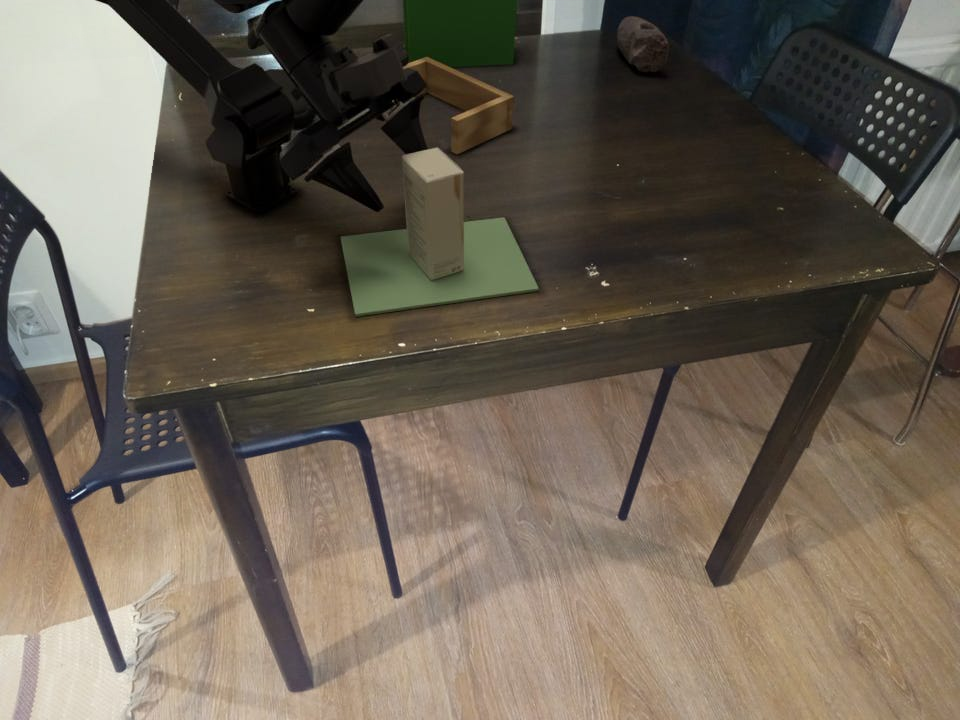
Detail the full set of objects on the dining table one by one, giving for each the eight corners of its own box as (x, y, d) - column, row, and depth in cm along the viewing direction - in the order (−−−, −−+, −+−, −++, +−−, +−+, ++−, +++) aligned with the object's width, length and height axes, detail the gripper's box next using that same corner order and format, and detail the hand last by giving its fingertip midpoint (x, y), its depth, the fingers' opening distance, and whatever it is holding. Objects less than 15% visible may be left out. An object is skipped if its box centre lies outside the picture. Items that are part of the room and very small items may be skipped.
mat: (355, 317, 72) (355, 314, 72) (340, 239, 82) (340, 236, 82) (538, 291, 76) (538, 288, 76) (504, 219, 86) (504, 217, 85)
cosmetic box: (465, 271, 78) (467, 173, 69) (430, 282, 76) (427, 183, 67) (439, 240, 81) (438, 144, 73) (405, 250, 80) (400, 153, 71)
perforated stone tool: (605, 45, 126) (612, 4, 121) (633, 44, 126) (640, 3, 122) (636, 80, 115) (644, 37, 110) (665, 78, 116) (675, 35, 111)
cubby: (457, 154, 96) (457, 120, 93) (372, 109, 105) (370, 76, 102) (511, 129, 102) (514, 96, 99) (427, 88, 111) (426, 56, 107)
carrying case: (317, 130, 100) (332, 85, 111) (314, 109, 98) (329, 66, 108) (242, 128, 100) (264, 84, 110) (238, 107, 98) (260, 64, 108)
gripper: (282, 46, 58) (396, 200, 63) (409, -14, 70) (498, 119, 74) (233, 111, 67) (337, 243, 71) (354, 47, 78) (437, 164, 82)
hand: (406, 189), depth 74 cm, fingers open, 9 cm apart
